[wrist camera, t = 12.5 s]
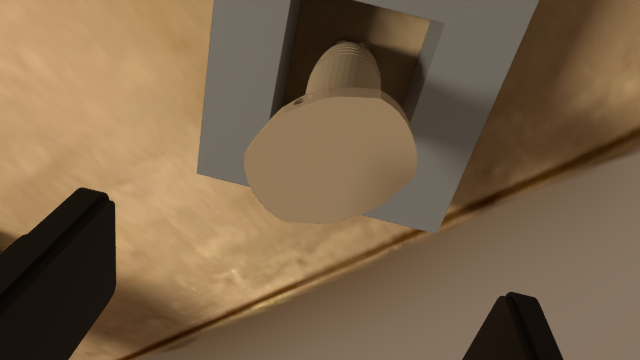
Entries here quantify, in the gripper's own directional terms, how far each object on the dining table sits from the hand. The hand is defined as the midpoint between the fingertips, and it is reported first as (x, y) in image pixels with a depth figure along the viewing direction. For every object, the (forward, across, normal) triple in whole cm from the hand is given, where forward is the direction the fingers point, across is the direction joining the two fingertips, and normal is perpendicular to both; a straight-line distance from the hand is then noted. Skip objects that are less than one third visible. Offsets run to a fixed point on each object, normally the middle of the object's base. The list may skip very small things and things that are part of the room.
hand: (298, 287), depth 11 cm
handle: (+22, 0, 0) cm, 22 cm away
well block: (+22, 0, 0) cm, 22 cm away
